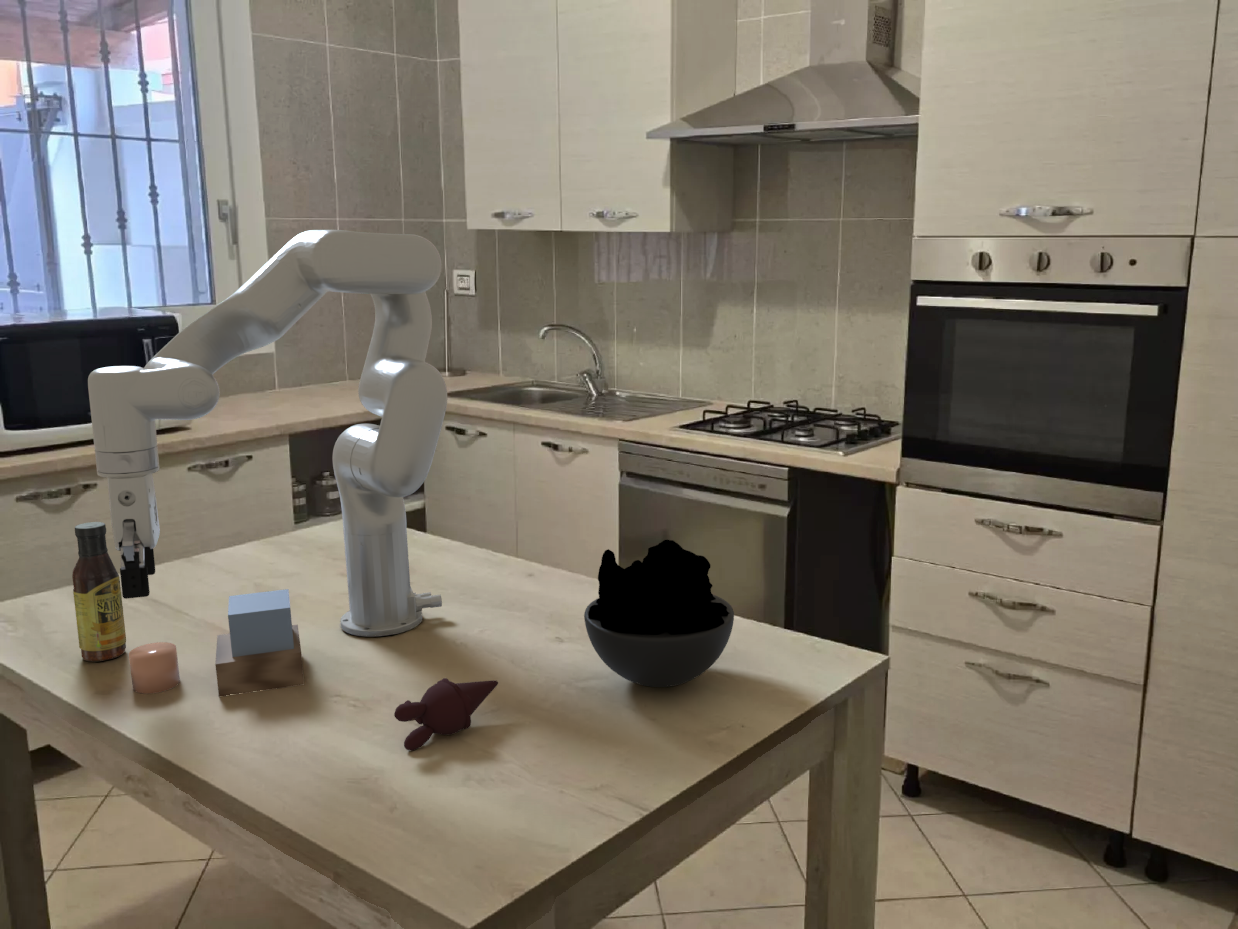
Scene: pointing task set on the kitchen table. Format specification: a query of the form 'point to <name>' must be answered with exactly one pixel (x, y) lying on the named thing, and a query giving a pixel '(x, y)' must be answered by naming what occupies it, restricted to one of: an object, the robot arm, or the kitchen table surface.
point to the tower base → (257, 668)
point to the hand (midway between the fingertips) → (139, 585)
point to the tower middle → (260, 623)
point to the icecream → (443, 709)
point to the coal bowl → (658, 617)
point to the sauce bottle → (97, 596)
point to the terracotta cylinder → (154, 667)
